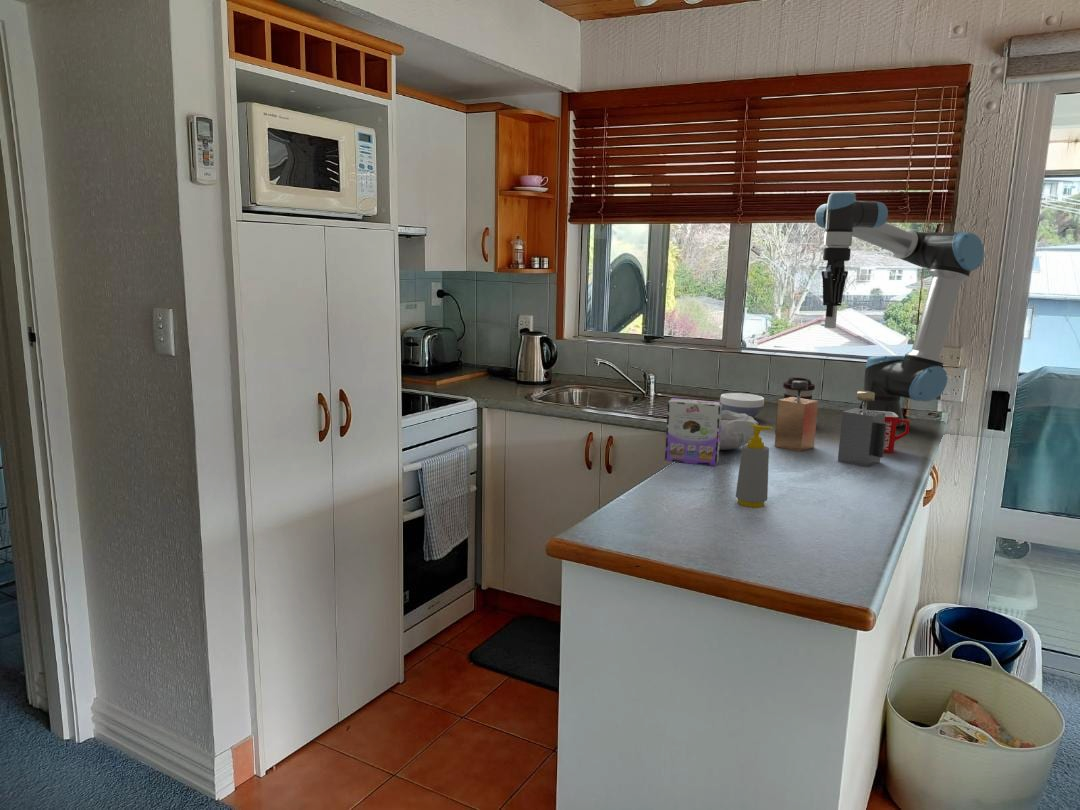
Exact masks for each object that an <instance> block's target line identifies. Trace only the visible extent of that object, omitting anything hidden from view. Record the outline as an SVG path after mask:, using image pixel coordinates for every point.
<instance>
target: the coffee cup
mask: <svg viewBox="0 0 1080 810" xmlns="http://www.w3.org/2000/svg"><path fill="white" fill-rule="evenodd" d="M792 381H806V382H808V389H807V390H801V398H803V399H810V400H813V391H814V390H815V384H814V383H812V381H811V379H809V378H804V377H788V380H787V381H784V382H783V384H782V385H783V386H782V387H783V388H784V393H783V399H784V398H789V397H797V391H798V390H796V389H792Z"/></svg>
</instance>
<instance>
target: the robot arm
mask: <svg viewBox="0 0 1080 810" xmlns="http://www.w3.org/2000/svg"><path fill="white" fill-rule="evenodd" d="M856 196H857V194H856V193H854V192H851V191H850V192H847V191H845V192H844V191H843V192H842V191H841V192H840V191H838V192H831V193H830V194H829V195H828V199H827V203H823V204H821V205H819V206H818V208H817V209H816V211H815V215H814V218H815V219H814V220H815V223H816V225H817V226H818V227H819V228H822V229H825V230H824V236H823V239H824V243H823V245H824V246H826V247H823V251H822V260H823V261H827V263H826V266H825V270H823V271H821V278H822V305H823V306H826V308H825V319H824V328H825V329H827V328H828V329H836V326H837V317H838V316H837V315H838V314H837V313H838V307H841V306H842V302H843V297H844V292H845V287H846V286H845V285H846V281H847V277H848V276H849V275H848V274H849V271H848V270H847V271H846V270H845V267H846V266H845V262H849V261H850V259H851V248H850V247H851V246H852V244H853V243H852V242H853V237H854V238H856V239H860V240H861V241H864V242H867V243H869V244H871V245H873V246H876V247H879V248H882V249H884V250H887V251H889V252H891V253H893V255H894V257H896V258H898V259H900V260H902V261H904V262H907V263H910V264H912V265H915V266H918V267H921V268H924V269H928V272H929V274H930V275H931V282H930V285H929V288H928V292H927V295H926V299H925V302H924V305H923V306H924V307H923V308H922V313H921V315H920V320H919V323H918V327H917V329H916V334H915V335H914V341H913V343H912V347H911V350H910V351H908V352H907V353H905V354H904V355H872V356H869V357H868V358H867V360H866V365H865V368H864V370H865V371H864V372H865V373H864V381H863V391H869V392H874V393H875V398H874V401H867V408H866V410H871V411H886V412H893V413H895V414H896V415H898V419H902V420H904V415H903V410H902V406H901V398H905V399H909V400H913V401H917V402H932V401H934V400H936V399H937V398H939V397H940V396H941V395H942V394H943V392H944V391H945V389H946V387H947V384H948V373H947V371H946V370H945V368H943V366H944V364H945V363H944V360H943V359H942V357H941V356H942V355H941V354H942V352H943V348H944V345H945V342H946V338H947V335H948V331H949V327H950V324H951V321H952V317H953V314H954V312H955V311H954V310H955V307H956V303H957V300H958V297H959V294H960V290H961V285H962V283H963V282H965V281H967V280H968V279H969V277H970V274H971V271H972V272H973V271H975V270H977V269H979V267H980V266H981V265H982V263H983V261H984V257H985V248H984V244H983V242H982V240H981V238H980V237H979V236H978V235H977V234H975V233H973V232H966V231H950V232H938V231H937V232H926V231H925V232H921V231H915V230H913V229H902V228H900V227H898V226H895V225H893V224H890V223H887V220H888V216H889V210H888V207H887V205H886V203H884V202H881V201H876V200H875V201H874V200H873V201H872V200H868V201H867V200H857V199H856V198H857V197H856ZM860 401H861V400H860ZM858 408H859V409H862V408H863V401H861V402H860V404H859V405H858ZM903 426H904V422H901V423H898V424H897V426H896V428H897V427H898V428H900V427H903Z"/></svg>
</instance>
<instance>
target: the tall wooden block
mask: <svg viewBox="0 0 1080 810" xmlns="http://www.w3.org/2000/svg"><path fill="white" fill-rule="evenodd" d="M777 401H778V402H777V409H776V421H775V430H774V436H775V437H774V447H776V448H777V447H778V448H781V449H787V450H791V451H795V452H804V451H807V450H810V449H812V448H815V440H816V430H817V429H816V428H817V421H818V420H817V419H818V409H819V400H817V399H816V400H815V399H812V400H810V399H803V398H800V401H797V397H789V398H784V397H783V398H782V399H781V398H780V399H778V400H777Z"/></svg>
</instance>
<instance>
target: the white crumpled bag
mask: <svg viewBox="0 0 1080 810" xmlns="http://www.w3.org/2000/svg"><path fill="white" fill-rule="evenodd" d="M750 424H754V425H759V422H758V421H757V420H755V418H754V419H753V418H752V417H751V416H748V415H746V414H738V413H735V412H731V411H729V410H724V409H723V410H722V414H721V433H720V447H719V451H720V450H721V451H722V450H723V451H729V450H736V449H738V448H739V449H740V448H742V446H743V445H746V444H748V441H751V437H753V436H754V427H753V426H750ZM759 426H760V425H759Z"/></svg>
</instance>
